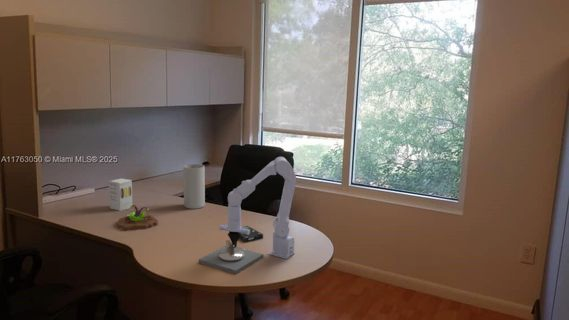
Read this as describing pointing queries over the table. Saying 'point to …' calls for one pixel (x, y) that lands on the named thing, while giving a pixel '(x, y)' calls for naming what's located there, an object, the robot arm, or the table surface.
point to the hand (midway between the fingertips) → (234, 247)
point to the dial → (231, 253)
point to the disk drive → (251, 235)
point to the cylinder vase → (194, 186)
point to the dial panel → (233, 266)
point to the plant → (137, 220)
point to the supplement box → (120, 194)
